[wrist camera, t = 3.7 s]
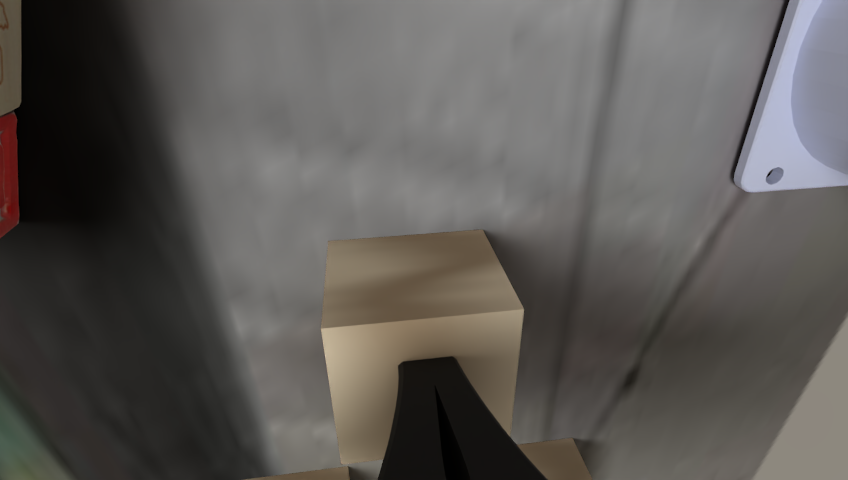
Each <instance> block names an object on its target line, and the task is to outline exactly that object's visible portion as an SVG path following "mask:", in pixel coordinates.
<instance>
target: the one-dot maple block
mask: <svg viewBox="0 0 848 480" xmlns="http://www.w3.org/2000/svg"><path fill="white" fill-rule="evenodd" d="M517 446H518V447H519V448H520V449H521V451H522V452H523V453H524V454H525V455H526V456H527V458H528V459H529V460H530V461H531V462H532V463H533V464H534V465H535V467H536V468H537V469H538V470H539V471H540V472H541V473H542V474H543V475H544V476H545V477H546V478H547V479H548V480H592V478H591V476H590V474H589V472H588V469H587V467H586V465H585V463H584V461H583V459H582V457H581V455H580V453H579V451H578V448H577V446H576V444H575V442H574V440H573V438H567V439H559V440H551V441H543V442H535V443H527V444H520V445H517Z"/></svg>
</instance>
